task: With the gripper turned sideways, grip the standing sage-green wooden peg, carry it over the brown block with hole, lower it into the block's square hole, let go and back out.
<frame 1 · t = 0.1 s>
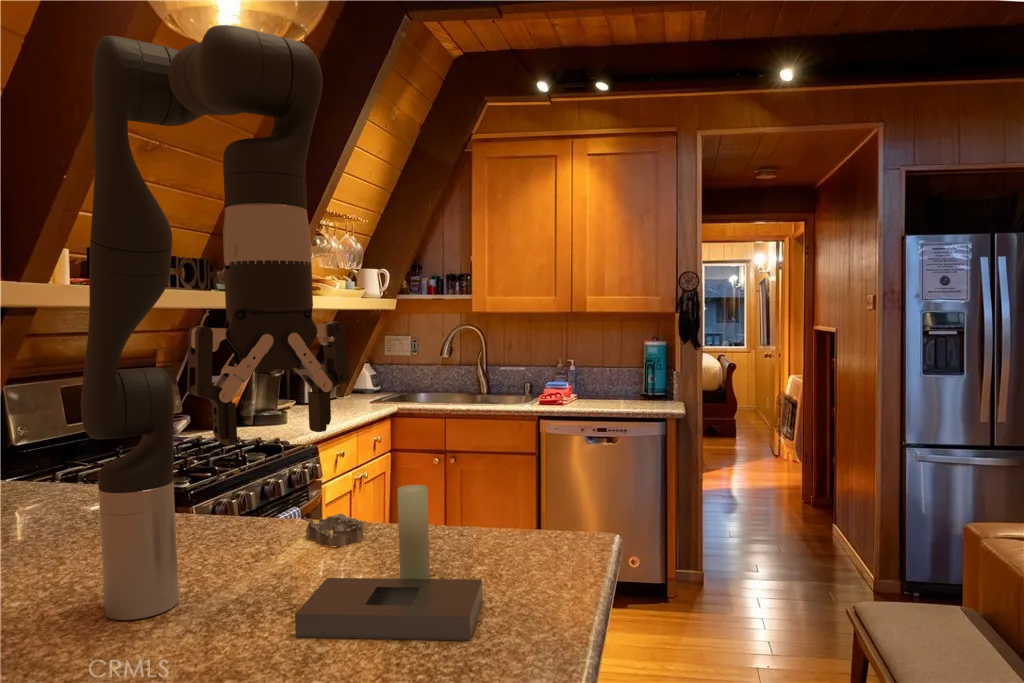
hand: (274, 437, 67), 29 cm above the counter, tool pointing down, fingers open, 8 cm apart
peg: (415, 580, 109), on the counter
egg carton: (335, 540, 130), on the counter
brown block with hole: (394, 618, 96), on the counter
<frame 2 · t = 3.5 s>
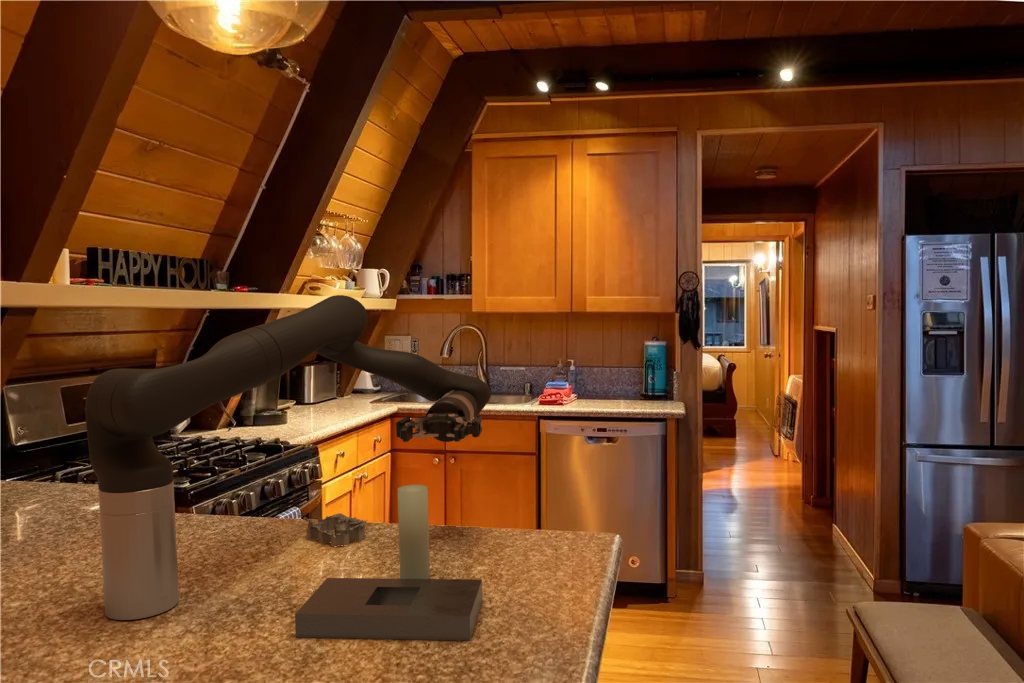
hand: (430, 435, 118), 20 cm above the counter, tool horizontal, fingers open, 8 cm apart
nothing on the counter moved.
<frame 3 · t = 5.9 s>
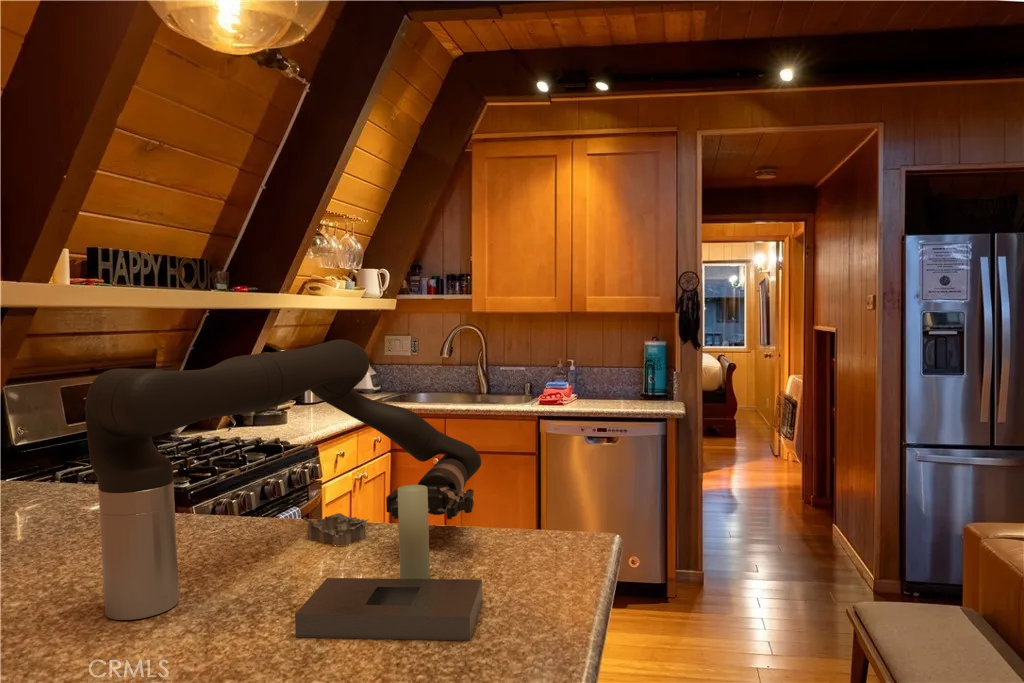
hand: (422, 513, 115), 8 cm above the counter, tool horizontal, fingers open, 8 cm apart
nothing on the counter moved.
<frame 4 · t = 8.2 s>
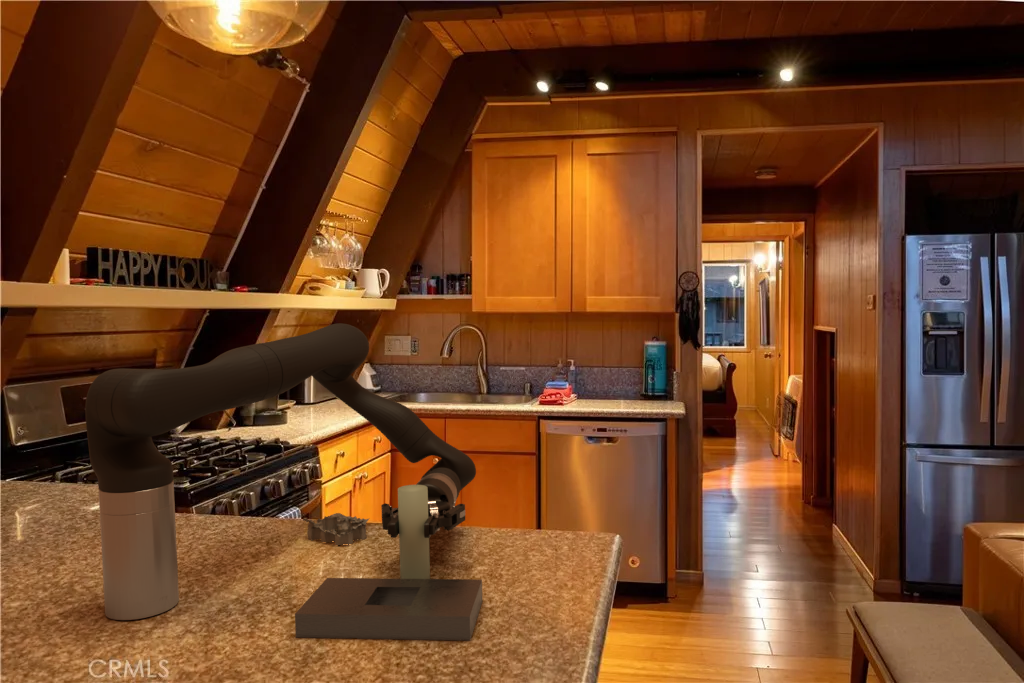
hand: (409, 531, 106), 8 cm above the counter, tool horizontal, fingers closed on peg, 4 cm apart
peg: (415, 580, 109), on the counter, touching gripper
everything else where it was.
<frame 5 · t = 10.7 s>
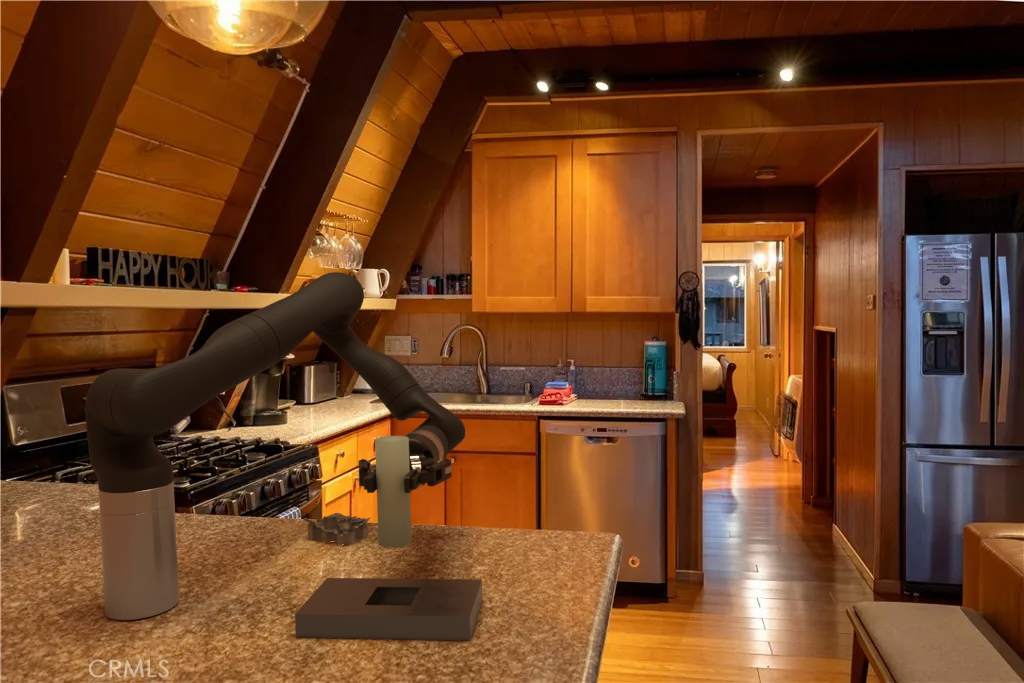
hand: (388, 485, 95), 18 cm above the counter, tool horizontal, fingers closed on peg, 4 cm apart
peg: (395, 542, 98), point 9 cm above the counter, touching gripper
everything else where it was.
when the fingers open (10 cm above the counter, at t = 13.3 s): peg drops 1 cm, resting in brown block with hole.
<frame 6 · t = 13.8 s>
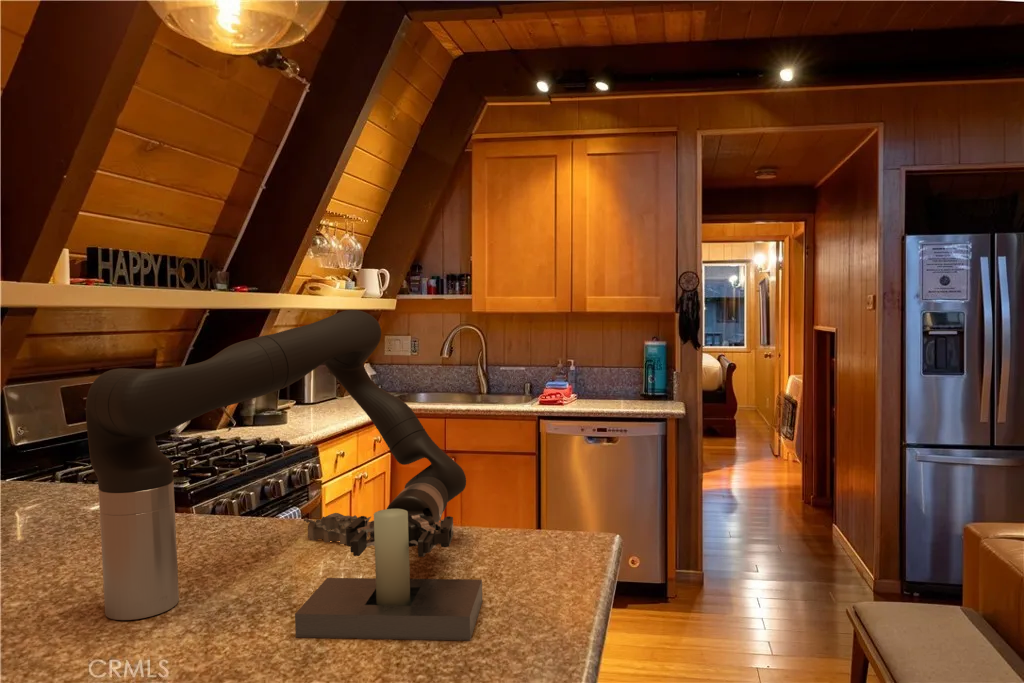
hand: (388, 549, 94), 10 cm above the counter, tool horizontal, fingers open, 8 cm apart
peg: (394, 618, 96), resting in brown block with hole
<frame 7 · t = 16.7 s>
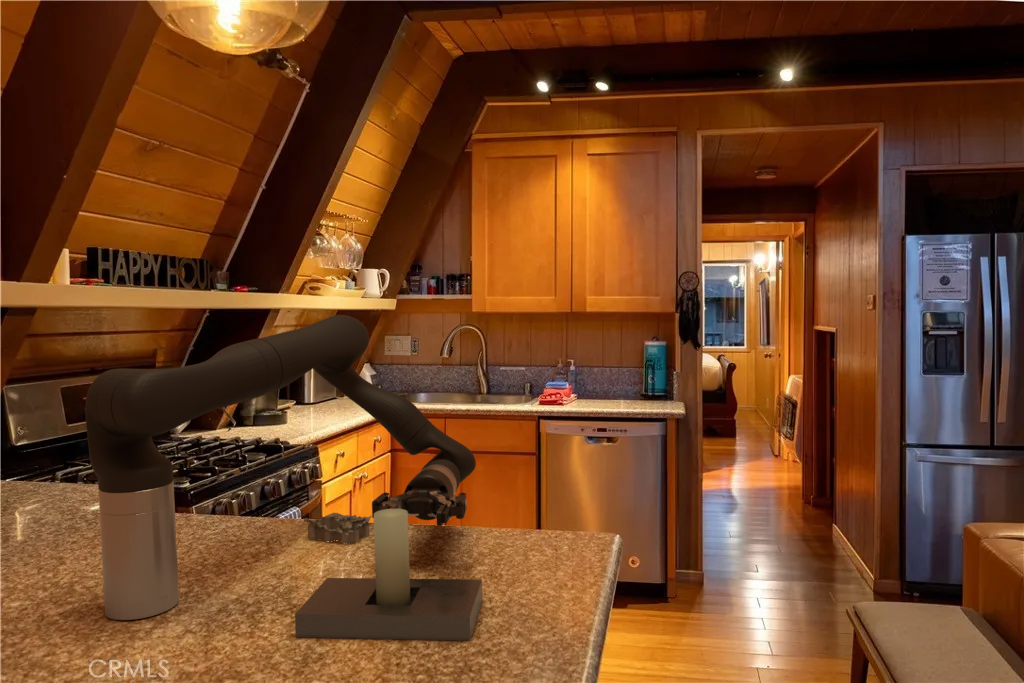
hand: (410, 519, 107), 10 cm above the counter, tool horizontal, fingers open, 8 cm apart
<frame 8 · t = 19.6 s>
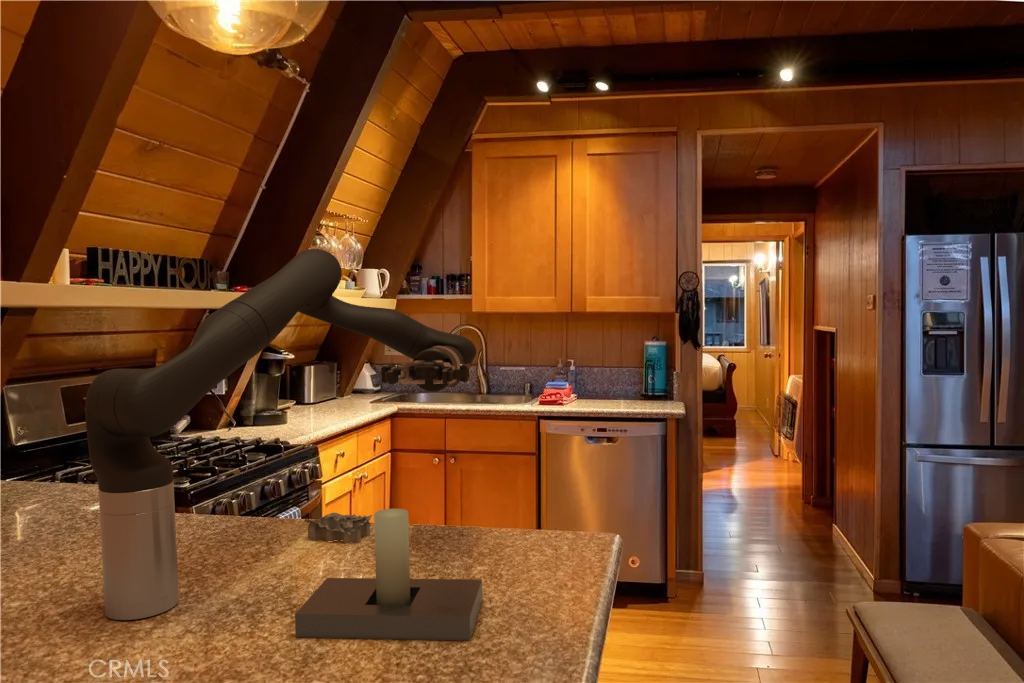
hand: (417, 377, 113), 30 cm above the counter, tool horizontal, fingers open, 8 cm apart
at the end: peg 0.1 cm off-centre on the brown block with hole, point 0.0 cm above the brown block with hole's base; peg tilted 0°; the gripper is holding nothing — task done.
